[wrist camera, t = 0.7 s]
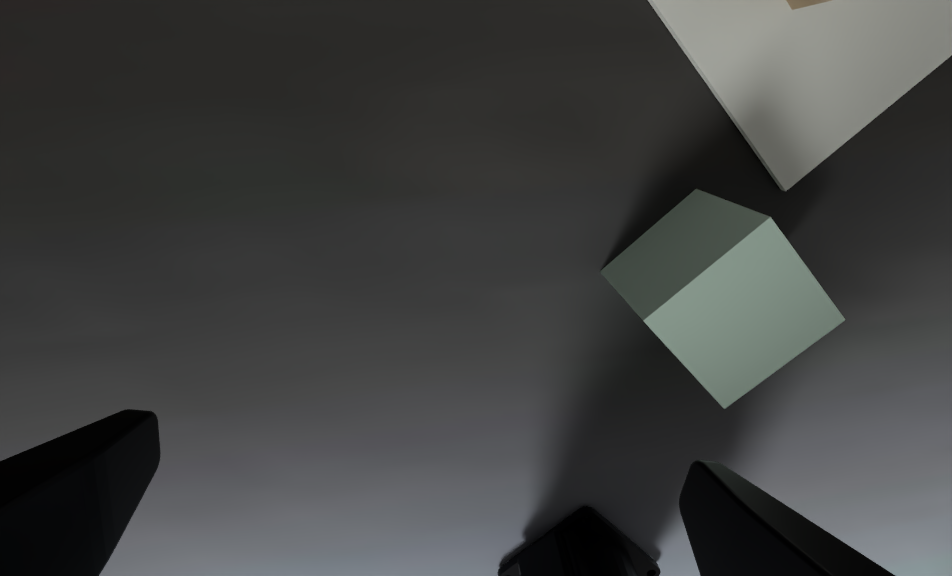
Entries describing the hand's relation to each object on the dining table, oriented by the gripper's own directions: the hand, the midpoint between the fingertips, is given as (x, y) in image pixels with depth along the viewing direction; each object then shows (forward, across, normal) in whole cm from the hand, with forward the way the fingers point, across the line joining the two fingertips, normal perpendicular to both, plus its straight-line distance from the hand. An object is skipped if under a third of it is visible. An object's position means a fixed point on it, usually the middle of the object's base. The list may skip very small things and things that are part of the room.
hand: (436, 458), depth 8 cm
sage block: (+13, -10, 0) cm, 17 cm away
